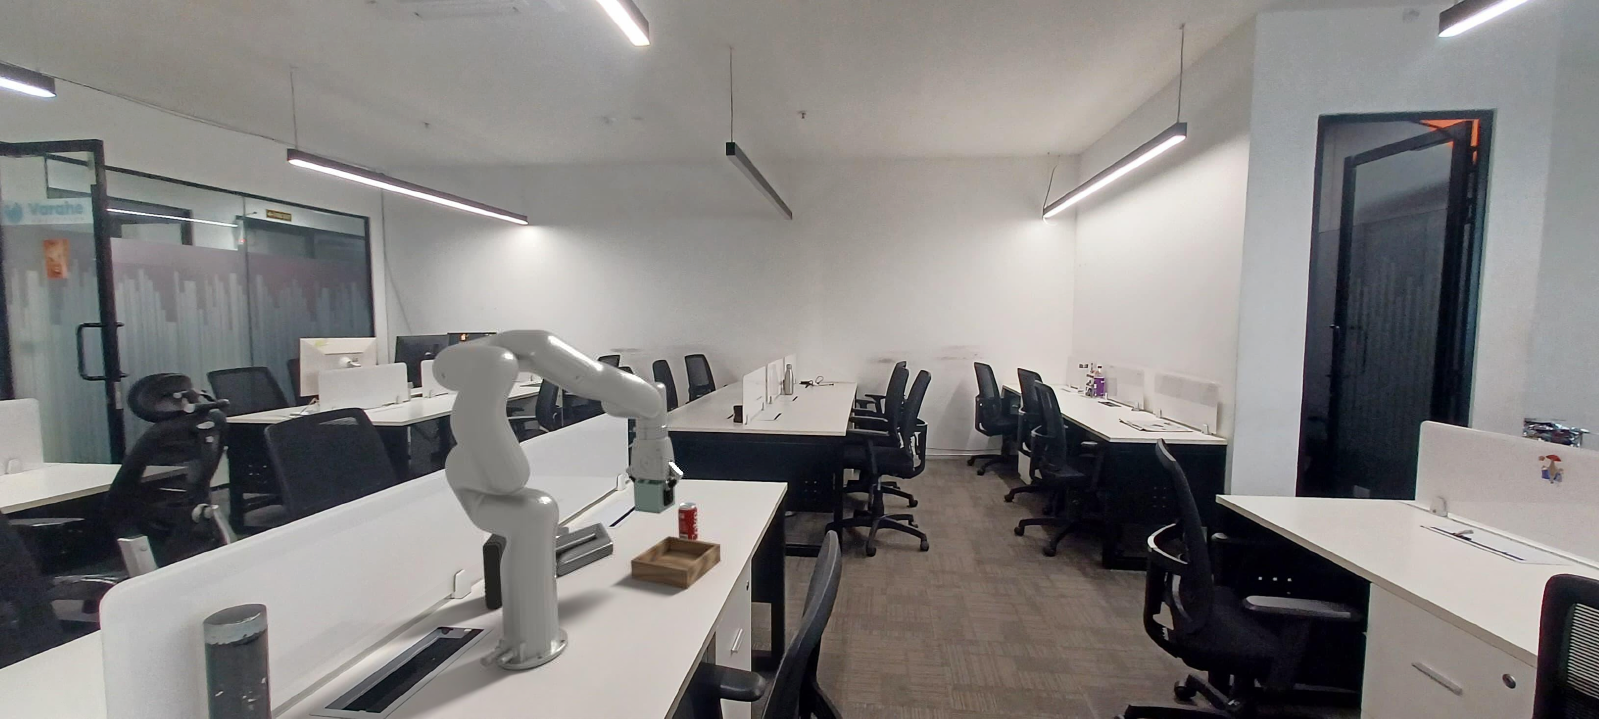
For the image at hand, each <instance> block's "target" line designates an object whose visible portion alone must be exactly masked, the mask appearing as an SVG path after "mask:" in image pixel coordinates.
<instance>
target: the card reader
mask: <svg viewBox="0 0 1599 719" xmlns="http://www.w3.org/2000/svg"><path fill="white" fill-rule="evenodd" d="M506 543H507V540H506V538H505V537H502V536H499V535H495V534H491V535H490V536H489V538H487V540H486V542H485V543H484V544H483V545H482V559H483V560H482V562H483V564H482V565H483V577H484V579H483V580H484V598H485V599H484V602H485V606H486V608H487V609H489V610H490V609H498V608H502V592H501V576H500V563H501V558H502V555H503V552H504V550H505V547H506Z"/></svg>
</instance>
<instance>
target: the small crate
mask: <svg viewBox="0 0 1599 719" xmlns="http://www.w3.org/2000/svg"><path fill="white" fill-rule="evenodd" d="M674 477H675V476H672V478H673V479H674ZM667 481H668V480H667ZM668 483H669V482H668ZM675 488H676V486H675V487H673V495H674V499H673V503H671V504H670V505H668V506H664V497H663V491H664V490H665V487H664V485H663V483H662V481H654V480H644V479H642V480H639V481H637V482H635V483H633V495H634V496H633V497H634V498H633V500H634V511H635V512H643V513H648V514H649V513H650V514H657V515H660V514H661V513H663V512H665V511H667V510H668V509H669V508H671V507H672V506H675V505H676V490H675Z"/></svg>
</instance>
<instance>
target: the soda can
mask: <svg viewBox="0 0 1599 719" xmlns="http://www.w3.org/2000/svg"><path fill="white" fill-rule="evenodd" d="M696 505H697V504H696V503H695V502H683V503H681V504H679V508H678V510H677V516H678V518H677V519H678V521H677V522H678V538H683V539H690V540H696V541H699V538H698V536H699V535H698V534H699V533H698V531H699V530H698V528H699V527H698V508H697V506H696Z"/></svg>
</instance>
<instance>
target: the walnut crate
mask: <svg viewBox="0 0 1599 719" xmlns="http://www.w3.org/2000/svg"><path fill="white" fill-rule="evenodd" d="M720 562H721V543H715V542H709V541H704V540H703V541H701V540H698V541H696V540H690V539H683V538H679V537H676V536H670V535H669V536H667V537H665V538H664V539H662V540H661V541H659V542H657V543H656V544H654V545H652V546H651V547H650V548H649V549H646V550H645V551H644V552H642V553H640V554H639V555H637V556H636V557H634V558H633V559H631V560H630V565H631V566H630V567H631V568H630V569H631V579H635V580H638V581H639V580H641V581H646V582H651V583H656V584H660V583H661V585H665V584H666V585H667V586H670V585H671V587H675V586H676V588H682V589H687V590H688V589H689V588H690V587H691V586H692V585H694V584H695V583H696V582H697V581H699V580H700V579H701V578H703V576H704V575H706V574H707V573H708V572H709V571H710V570H712V569H713V568H714V567H715V566H716V565H718V564H719V563H720Z"/></svg>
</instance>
